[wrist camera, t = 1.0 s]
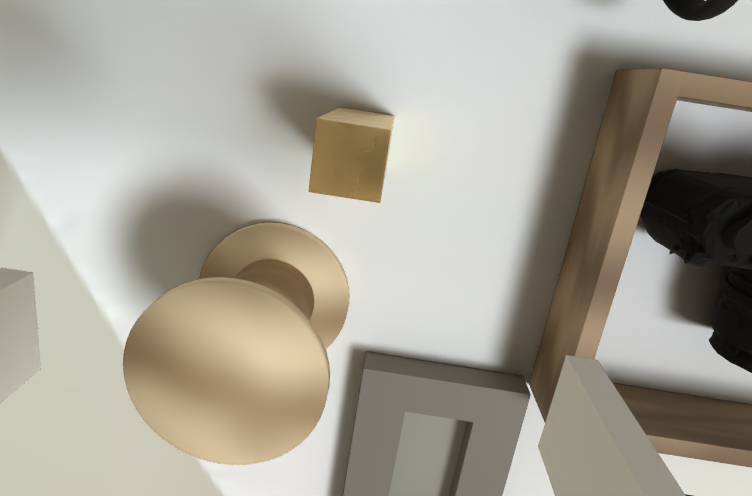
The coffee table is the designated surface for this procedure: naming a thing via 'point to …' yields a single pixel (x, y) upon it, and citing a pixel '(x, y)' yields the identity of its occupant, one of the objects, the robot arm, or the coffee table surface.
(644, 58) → the coffee table surface
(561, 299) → the caddy
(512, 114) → the coffee table surface
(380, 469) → the board
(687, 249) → the film camera
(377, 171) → the block
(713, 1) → the mug
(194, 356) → the wooden spool
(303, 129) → the coffee table surface
